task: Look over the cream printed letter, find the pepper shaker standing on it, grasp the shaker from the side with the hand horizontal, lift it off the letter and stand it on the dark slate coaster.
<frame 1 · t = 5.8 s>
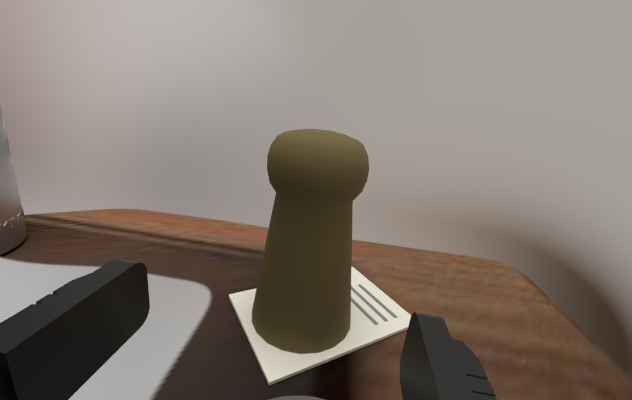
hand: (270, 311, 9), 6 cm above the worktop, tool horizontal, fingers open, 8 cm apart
letter: (322, 310, 19), on the worktop
pepper shaker: (301, 317, 18), resting on letter
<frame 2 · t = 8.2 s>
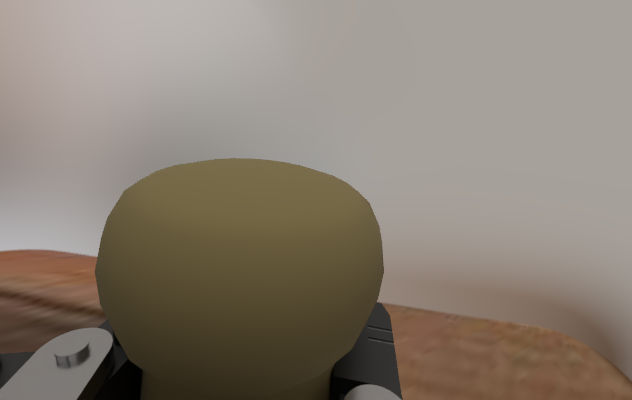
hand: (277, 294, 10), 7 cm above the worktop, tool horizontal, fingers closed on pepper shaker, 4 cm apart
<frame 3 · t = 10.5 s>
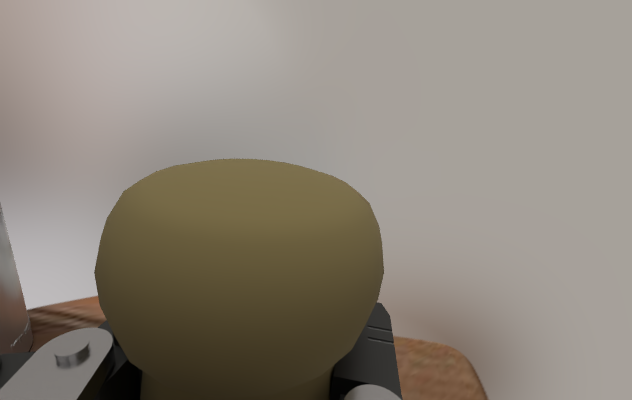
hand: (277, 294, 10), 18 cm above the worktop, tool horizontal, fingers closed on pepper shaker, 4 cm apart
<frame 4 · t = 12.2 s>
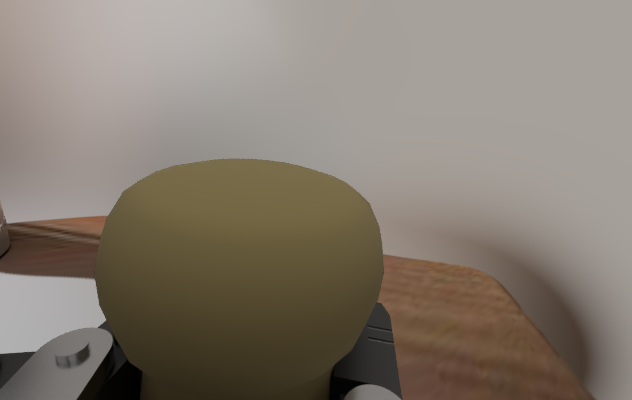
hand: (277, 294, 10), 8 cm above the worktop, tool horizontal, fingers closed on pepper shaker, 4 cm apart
when the fingers open (8 cm above the worktop, at t = 12.6 s): pepper shaker moves 2 cm, resting on coaster.
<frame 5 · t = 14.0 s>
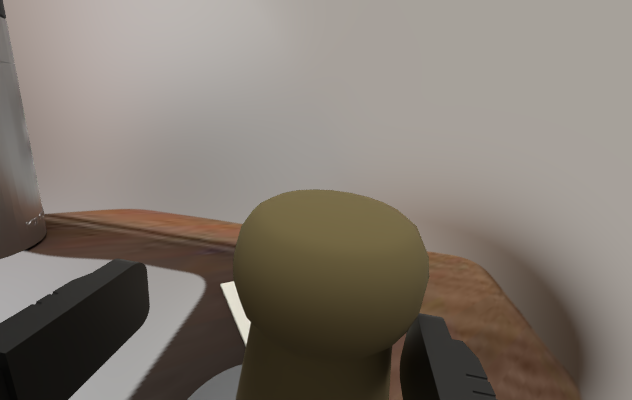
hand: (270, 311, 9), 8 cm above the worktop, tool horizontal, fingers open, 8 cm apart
letter: (299, 298, 22), on the worktop
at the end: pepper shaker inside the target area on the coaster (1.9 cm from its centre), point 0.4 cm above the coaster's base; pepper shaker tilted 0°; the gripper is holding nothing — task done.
